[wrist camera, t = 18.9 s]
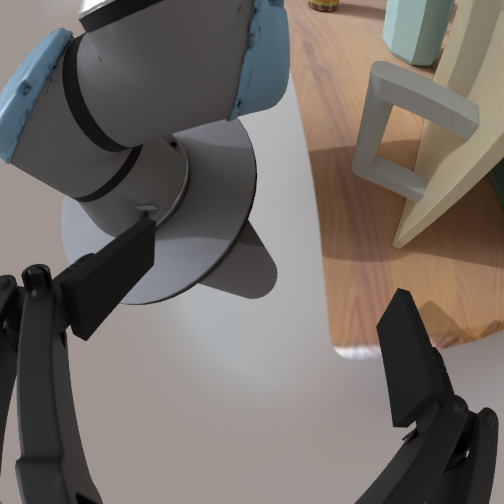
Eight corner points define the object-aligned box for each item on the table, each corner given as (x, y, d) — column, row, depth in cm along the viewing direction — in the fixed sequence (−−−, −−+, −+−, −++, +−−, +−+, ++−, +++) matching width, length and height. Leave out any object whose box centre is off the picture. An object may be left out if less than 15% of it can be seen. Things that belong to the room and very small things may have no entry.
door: (333, 219, 29) (369, 0, 6) (387, 71, 32) (406, -66, 9) (399, 249, 27) (554, 100, 4) (434, 91, 30) (476, -37, 7)
